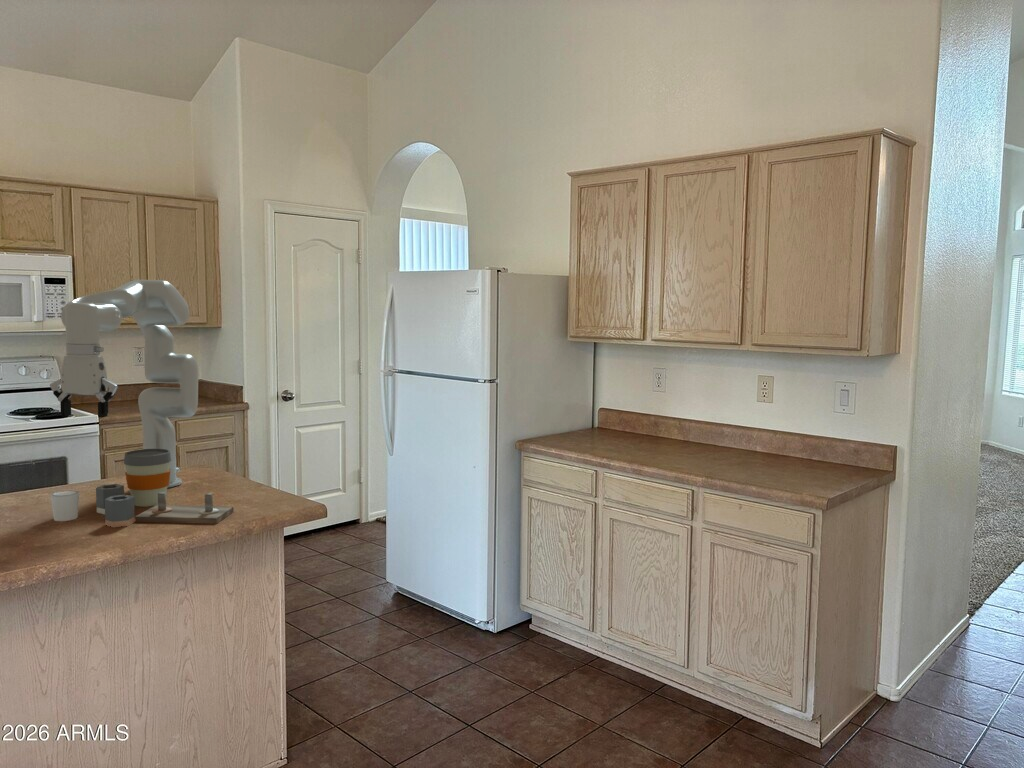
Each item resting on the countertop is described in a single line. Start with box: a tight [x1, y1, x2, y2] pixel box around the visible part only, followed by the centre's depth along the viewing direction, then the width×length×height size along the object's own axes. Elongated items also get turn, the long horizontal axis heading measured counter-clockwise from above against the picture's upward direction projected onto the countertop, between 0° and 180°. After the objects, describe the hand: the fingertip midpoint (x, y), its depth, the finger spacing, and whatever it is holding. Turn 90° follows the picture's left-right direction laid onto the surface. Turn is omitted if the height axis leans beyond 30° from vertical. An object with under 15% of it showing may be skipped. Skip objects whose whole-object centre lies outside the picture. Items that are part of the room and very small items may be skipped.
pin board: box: [134, 492, 234, 525], centre depth 211 cm, size 12×22×6 cm, turn 89°
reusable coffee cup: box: [123, 448, 171, 507], centre depth 225 cm, size 13×12×15 cm
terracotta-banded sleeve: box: [104, 494, 136, 528], centre depth 203 cm, size 7×6×7 cm
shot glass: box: [49, 490, 80, 522], centre depth 207 cm, size 7×7×7 cm
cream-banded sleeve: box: [95, 483, 125, 515], centre depth 215 cm, size 7×6×7 cm
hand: (84, 416), depth 199 cm, fingers open, 9 cm apart
